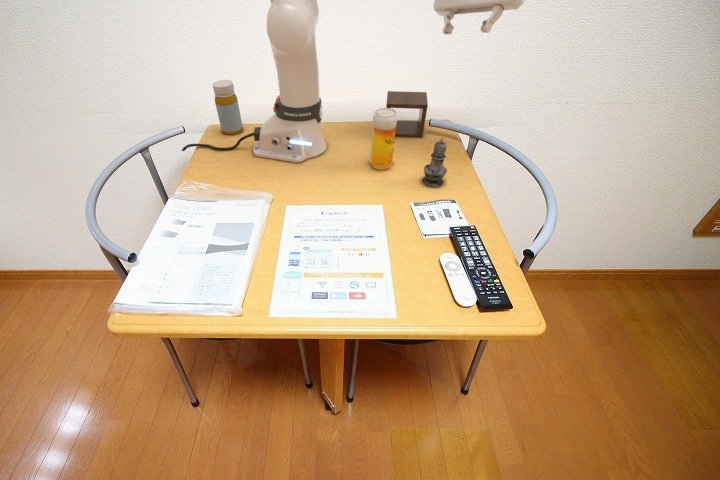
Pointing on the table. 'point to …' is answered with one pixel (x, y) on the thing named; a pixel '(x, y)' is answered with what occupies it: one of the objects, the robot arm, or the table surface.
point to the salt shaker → (436, 166)
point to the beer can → (383, 138)
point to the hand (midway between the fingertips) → (465, 32)
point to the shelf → (414, 102)
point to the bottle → (227, 107)
